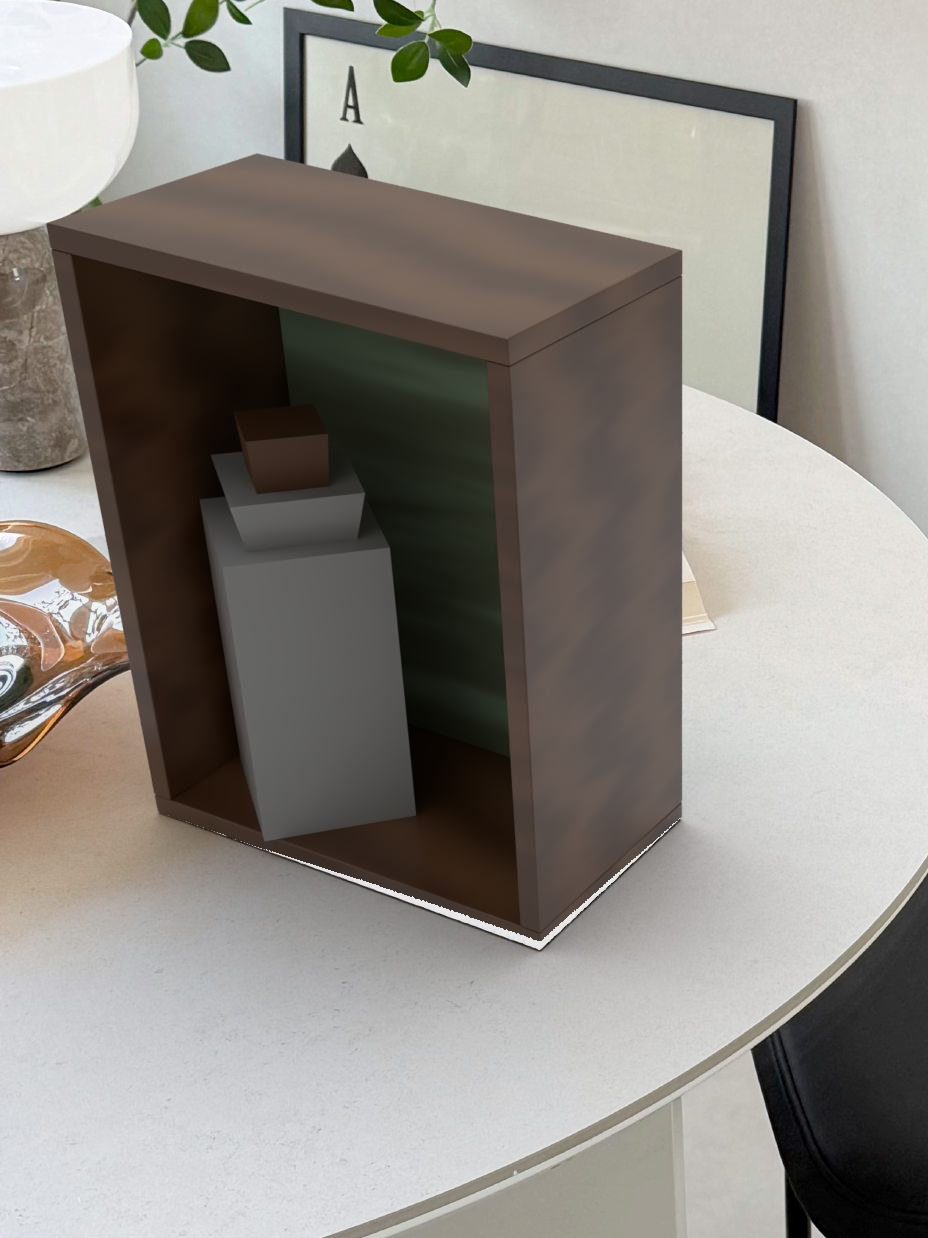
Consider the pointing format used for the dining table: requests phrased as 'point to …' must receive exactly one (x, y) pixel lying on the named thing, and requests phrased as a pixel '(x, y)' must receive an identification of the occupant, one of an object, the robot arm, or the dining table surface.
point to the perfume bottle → (307, 629)
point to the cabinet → (408, 503)
